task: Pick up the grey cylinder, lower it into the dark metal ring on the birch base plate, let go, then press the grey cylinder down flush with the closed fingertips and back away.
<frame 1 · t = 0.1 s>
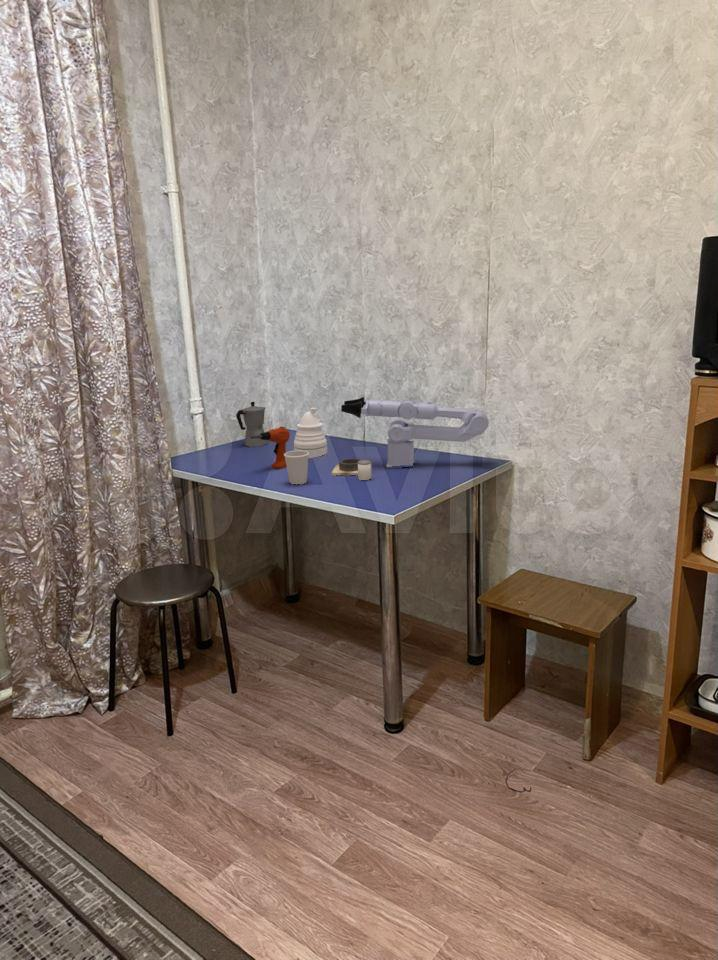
hand: (342, 406, 248), 22 cm above the table, tool horizontal, fingers open, 7 cm apart
dixie cup: (298, 482, 234), on the table
grey cylinder: (364, 479, 235), on the table
square plate with ring: (351, 471, 246), on the table
toy drill: (272, 469, 252), on the table
coffeepot: (254, 445, 291), on the table
honey pot: (310, 454, 272), on the table
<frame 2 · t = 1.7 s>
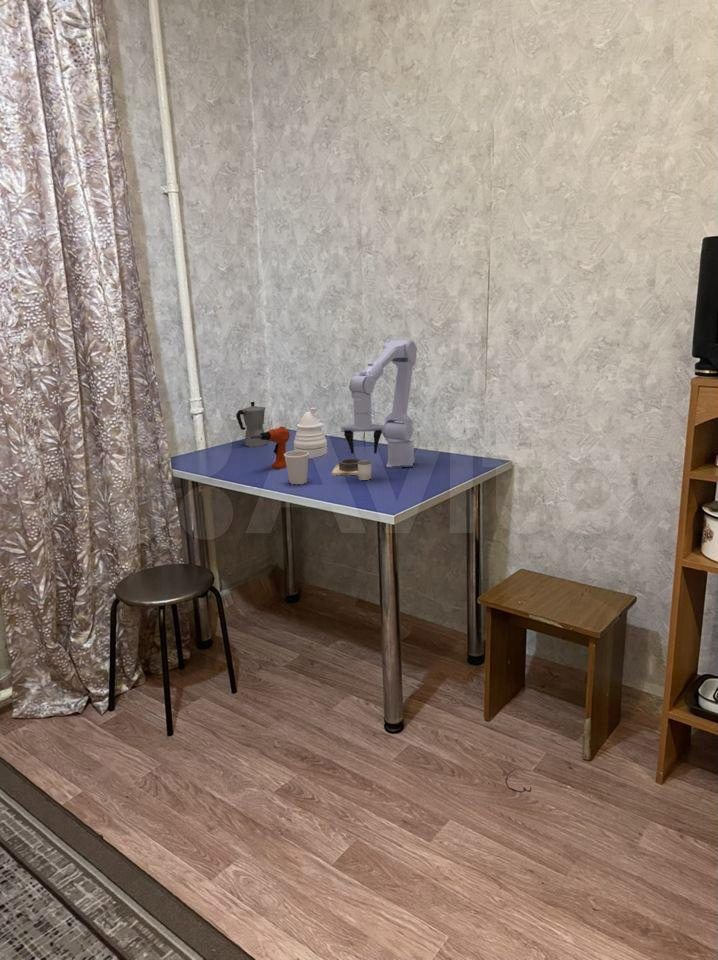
hand: (364, 452, 233), 9 cm above the table, tool pointing down, fingers open, 7 cm apart
nothing on the table moved.
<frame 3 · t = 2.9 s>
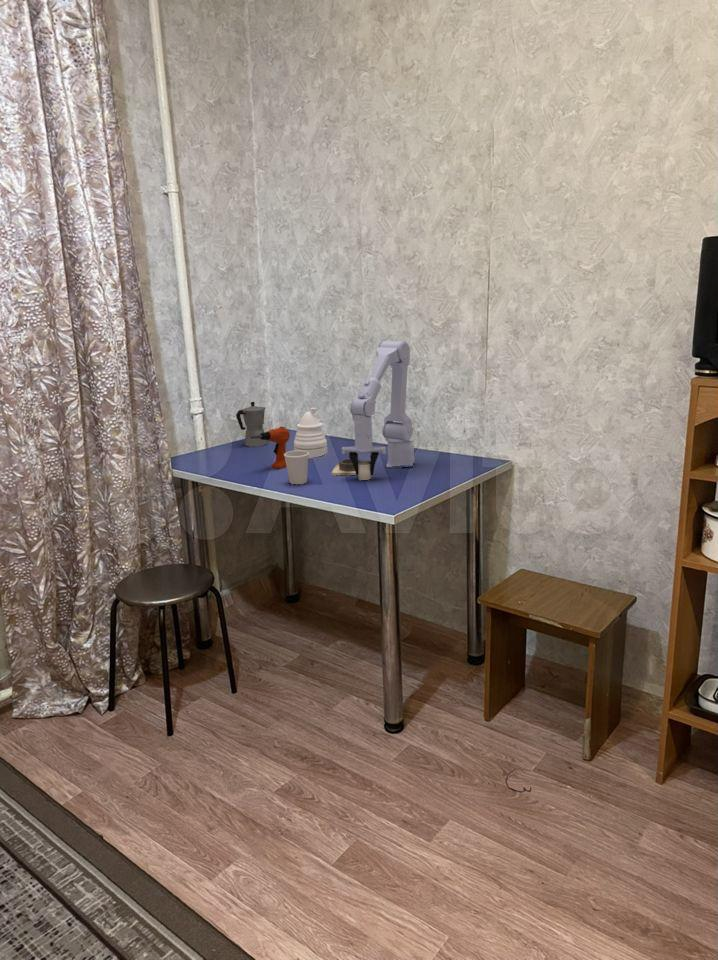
hand: (364, 474, 235), 2 cm above the table, tool pointing down, fingers closed on grey cylinder, 4 cm apart
grey cylinder: (364, 478, 235), on the table, touching gripper
everything else where it was.
when the fingers open (4 cm above the table, at t = 6.8 s): grey cylinder drops 2 cm, resting on square plate with ring.
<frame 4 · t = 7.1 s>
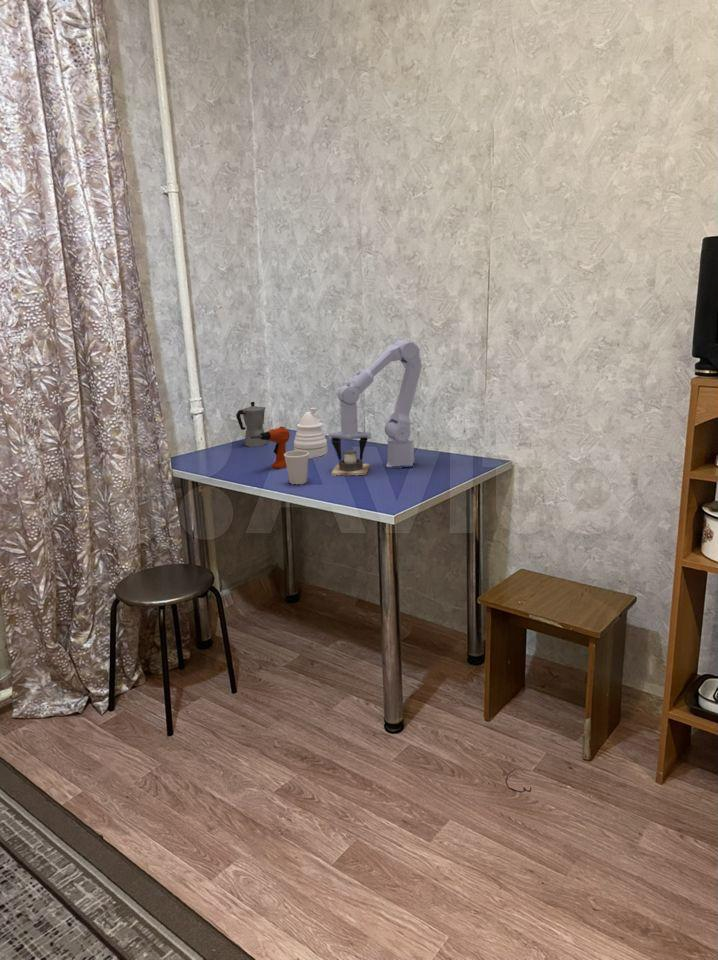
hand: (350, 459, 244), 4 cm above the table, tool pointing down, fingers open, 7 cm apart
grey cylinder: (350, 468, 245), point 1 cm above the table, touching square plate with ring
everything else where it was.
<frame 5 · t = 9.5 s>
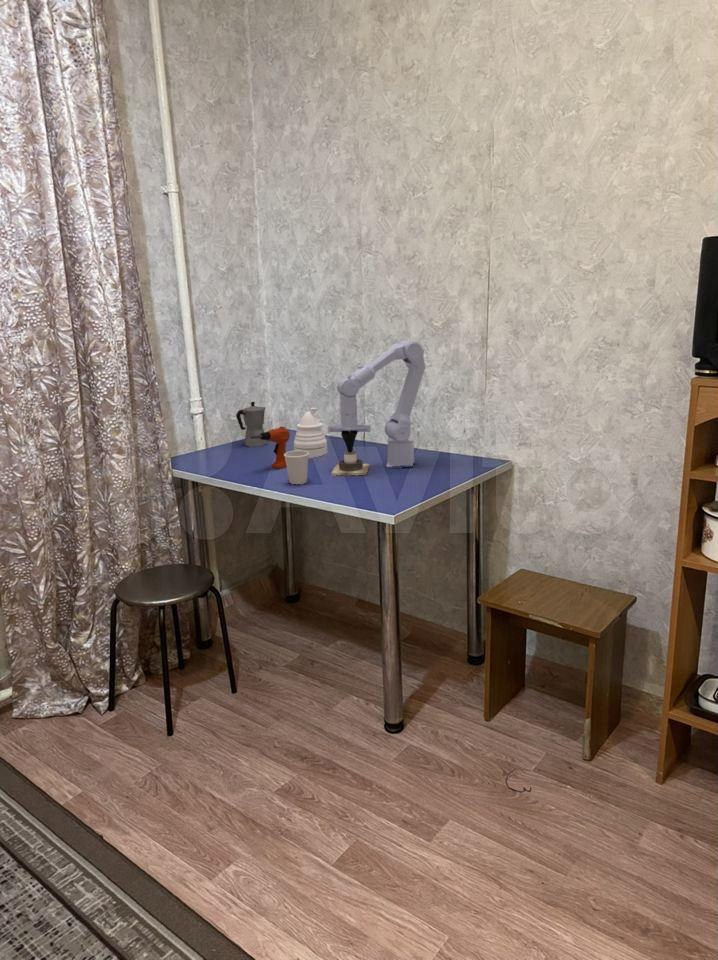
hand: (350, 452, 244), 7 cm above the table, tool pointing down, fingers closed, pressing on grey cylinder
grey cylinder: (350, 468, 245), point 1 cm above the table, touching square plate with ring, gripper
everything else where it was.
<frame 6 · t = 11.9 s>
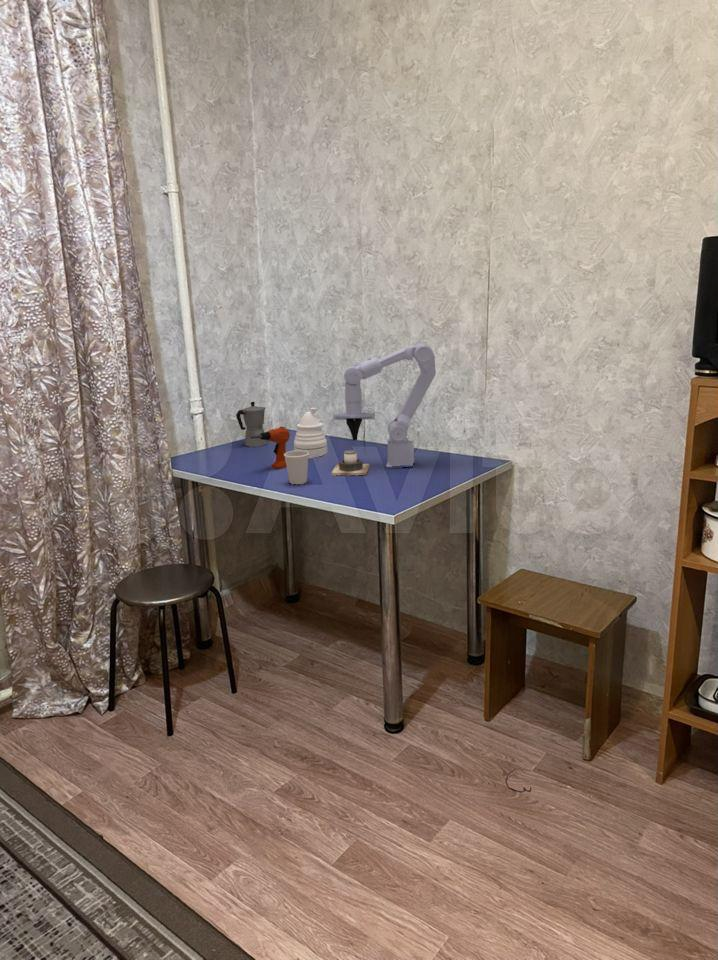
hand: (355, 439, 249), 10 cm above the table, tool pointing down, fingers closed
grey cylinder: (350, 468, 245), point 1 cm above the table, touching square plate with ring
everything else where it was.
at the end: grey cylinder 0.1 cm off-centre on the square plate with ring, point 1.0 cm above the square plate with ring's base; grey cylinder tilted 1°; the gripper is holding nothing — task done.
